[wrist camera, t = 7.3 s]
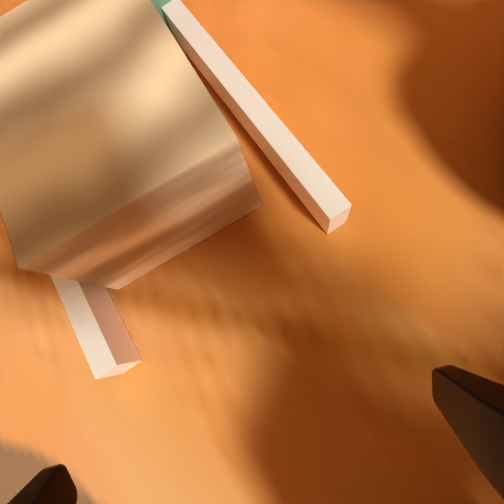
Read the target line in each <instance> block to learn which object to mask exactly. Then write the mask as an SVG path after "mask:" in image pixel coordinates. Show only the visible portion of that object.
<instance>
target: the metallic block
mask: <svg viewBox="0 0 504 504" xmlns="http://www.w3.org/2000/svg"><path fill="white" fill-rule="evenodd" d="M261 206H262V204H261V202H260V199H259V196H258V193H257V190H256V188H255V185H254V182H253V179H252V177H251V174H250V171H249V168H248V166H247V163H246V160H245V157H244V154H243V152H242V149H241V146H240V143H239V141H238V138H237V137H236V135H235V133H234V132H233V130H232V129H231V127H230V126H229V124H228V122H227V121H226V119H225V118H224V116H223V114H222V113H221V111H220V110H219V108H218V106H217V105H216V103H215V102H214V100H213V99H212V97H211V95H210V94H209V92H208V91H207V89H206V87H205V86H204V84H203V83H202V81H201V79H200V78H199V76H198V75H197V73H196V72H195V70H194V68H193V67H192V65H191V64H190V62H189V60H188V59H187V57H186V56H185V54H184V52H183V51H182V49H181V48H180V46H179V45H178V43H177V41H176V40H175V38H174V37H173V35H172V33H171V32H170V30H169V29H168V27H167V25H166V24H165V22H164V21H163V19H162V18H161V16H160V14H159V13H158V11H157V10H156V8H155V6H154V5H153V3H152V2H151V0H27V1H25V2H24V3H22V4H20V5H19V6H17V7H16V8H14V9H12V10H11V11H9V12H7V13H6V14H4V15H3V16H1V17H0V212H1V215H2V218H3V221H4V225H5V228H6V231H7V234H8V237H9V241H10V244H11V247H12V250H13V254H14V257H15V260H16V263H17V266H18V269H23V270H28V271H32V272H37V273H42V274H46V275H51V276H56V277H60V278H65V279H70V280H74V281H79V282H84V283H88V284H93V285H98V286H102V287H107V288H112V289H116V290H118V289H120V288H122V287H124V286H125V285H127V284H129V283H130V282H132V281H134V280H136V279H137V278H139V277H141V276H142V275H144V274H146V273H148V272H149V271H151V270H153V269H154V268H156V267H158V266H160V265H161V264H163V263H165V262H166V261H168V260H170V259H172V258H173V257H175V256H177V255H178V254H180V253H182V252H184V251H185V250H187V249H189V248H191V247H192V246H194V245H196V244H197V243H199V242H201V241H203V240H204V239H206V238H208V237H209V236H211V235H213V234H215V233H216V232H218V231H220V230H221V229H223V228H225V227H227V226H228V225H230V224H232V223H233V222H235V221H237V220H239V219H240V218H242V217H244V216H245V215H247V214H249V213H251V212H252V211H254V210H256V209H257V208H259V207H261Z"/></svg>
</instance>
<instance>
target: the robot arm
mask: <svg viewBox="0 0 504 504" xmlns="http://www.w3.org/2000/svg"><path fill="white" fill-rule="evenodd" d="M432 394H433V399H434V401H435V403H436V405H437V407H438V408H439V410H440V411H441V413H442V414H443V416H444V417H445V419H446V420H447V422H448V423H449V425H450V426H451V428H452V429H453V431H454V432H455V434H456V435H457V437H458V438H459V440H460V441H461V443H462V444H463V446H464V447H465V449H466V450H467V452H468V453H469V455H470V456H471V458H472V459H473V460H474V462H475V463H476V465H477V466H478V468H479V469H480V470H481V471H482V473H483V474H484V475H485V477H486V478H487V479H488V480H489V482H490V483H491V484H492V485H493V487H494V488H495V489H496V490H497V492H498V493H499V494H500V495H501V497H502V498H503V499H504V385H502V384H499V383H497V382H494V381H491V380H489V379H486V378H484V377H481V376H479V375H476V374H473V373H471V372H468V371H466V370H463V369H460V368H458V367H455V366H452V365H444V366H440V367H436V368H434V369H433V371H432ZM76 502H77V489H76V486H75V484H74V482H73V480H72V478H71V476H70V474H69V472H68V470H67V468H66V466H64V465H63V464H58V465H54V466H50V467H47V468H44V469H43V470H41V471H40V472H39V473H38V474H37V475H36V476H35V477H34V478H33V479H32V480H31V481H30V482H29V483H28V484H27V485H26V486H25V487H24V488H23V489H22V490H21V491H20V492H19V493H18V494H17V495H16V496H15V497H14V498H13V499H12V500H11V501H10V502H9V503H8V504H76Z"/></svg>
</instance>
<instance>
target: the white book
mask: <svg viewBox="0 0 504 504" xmlns="http://www.w3.org/2000/svg"><path fill="white" fill-rule="evenodd" d="M151 2H152V3H153V5H154V6H155V8H156V10H157V11H158V13H159V14H160V16H161V18H162V19H163V21H164V22H165V24H166V25H167V27H168V29H169V30H170V32H171V33H172V35H173V37H174V38H175V40H176V41H177V43H178V44H179V45H180V47H181V48H182V49H183V50H184V52H185V53H186V54H187V56H188V57H189V58H190V59H191V61H192V62H193V63H194V65H195V66H196V67H197V68H198V70H199V71H200V72H201V73H202V75H203V76H204V77H205V79H206V80H207V81H208V82H209V84H210V85H211V86H212V88H213V89H214V90H215V91H216V93H217V94H218V95H219V97H220V98H221V99H222V100H223V102H224V103H225V104H226V105H227V107H228V108H229V109H230V111H231V112H232V113H233V114H234V116H235V117H236V118H237V120H238V121H239V122H240V123H241V125H242V126H243V127H244V129H245V130H246V131H247V132H248V134H249V135H250V136H251V138H252V139H253V140H254V141H255V143H256V144H257V145H258V146H259V148H260V149H261V150H262V152H263V153H264V154H265V155H266V157H267V158H268V159H269V161H270V162H271V163H272V164H273V166H274V167H275V168H276V170H277V171H278V172H279V173H280V175H281V176H282V177H283V179H284V180H285V181H286V182H287V184H288V185H289V186H290V187H291V189H292V190H293V191H294V193H295V194H296V195H297V196H298V198H299V199H300V200H301V202H302V203H303V204H304V205H305V207H306V208H307V209H308V211H309V212H310V213H311V214H312V216H313V217H314V218H315V220H316V221H317V222H318V223H319V225H320V226H321V227H322V228H323V230H324V231H325V232H326V234H329V233H330V232H332V231H333V230H335V229H336V228H338V227H339V226H341V225H342V224H343V223H345V222H346V220H347V217H348V214H349V211H350V209H351V206H352V205H351V204H350V202H349V201H348V200H347V199H346V198H345V196H344V195H343V194H342V193H341V192H340V190H339V189H338V188H337V187H336V186H335V184H334V183H333V182H332V181H331V180H330V178H329V177H328V176H327V175H326V174H325V172H324V171H323V170H322V169H321V168H320V167H319V165H318V164H317V163H316V162H315V161H314V159H313V158H312V157H311V156H310V155H309V153H308V152H307V151H306V150H305V149H304V147H303V146H302V145H301V144H300V143H299V141H298V140H297V139H296V138H295V137H294V135H293V134H292V133H291V132H290V131H289V130H288V128H287V127H286V126H285V125H284V124H283V122H282V121H281V120H280V119H279V118H278V116H277V115H276V114H275V113H274V112H273V110H272V109H271V108H270V107H269V106H268V104H267V103H266V102H265V101H264V100H263V98H262V97H261V96H260V95H259V94H258V93H257V91H256V90H255V89H254V88H253V87H252V85H251V84H250V83H249V82H248V81H247V79H246V78H245V77H244V76H243V75H242V73H241V72H240V71H239V70H238V69H237V67H236V66H235V65H234V64H233V63H232V61H231V60H230V59H229V58H228V57H227V56H226V54H225V53H224V52H223V51H222V50H221V48H220V47H219V46H218V45H217V44H216V42H215V41H214V40H213V39H212V38H211V36H210V35H209V34H208V33H207V32H206V30H205V29H204V28H203V27H202V26H201V24H200V23H199V22H198V21H197V20H196V19H195V17H194V16H193V15H192V14H191V13H190V11H189V10H188V9H187V8H186V7H185V5H184V4H183V3H182V2H181V1H180V0H151ZM50 276H51V275H50ZM51 279H52V281H53V283H54V286H55V288H56V290H57V292H58V295H59V297H60V299H61V302H62V304H63V306H64V308H65V311H66V313H67V315H68V318H69V320H70V322H71V324H72V327H73V329H74V331H75V334H76V336H77V338H78V340H79V343H80V345H81V347H82V350H83V352H84V354H85V356H86V359H87V361H88V363H89V366H90V368H91V370H92V372H93V375H94V377H95V379H100V378H104V377H108V376H113V375H117V374H121V373H125V372H126V371H127V370H129V369H130V368H132V367H133V366H135V365H136V364H138V363H139V362H141V361H142V359H141V357H140V355H139V353H138V350H137V348H136V346H135V344H134V342H133V340H132V338H131V336H130V334H129V332H128V330H127V328H126V326H125V324H124V322H123V320H122V318H121V316H120V314H119V312H118V310H117V308H116V306H115V304H114V302H113V300H112V298H111V296H110V294H109V292H108V290H107V288H106V287H102V286H98V285H93V284H88V283H84V282H79V281H74V280H70V279H65V278H60V277H56V276H51Z"/></svg>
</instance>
